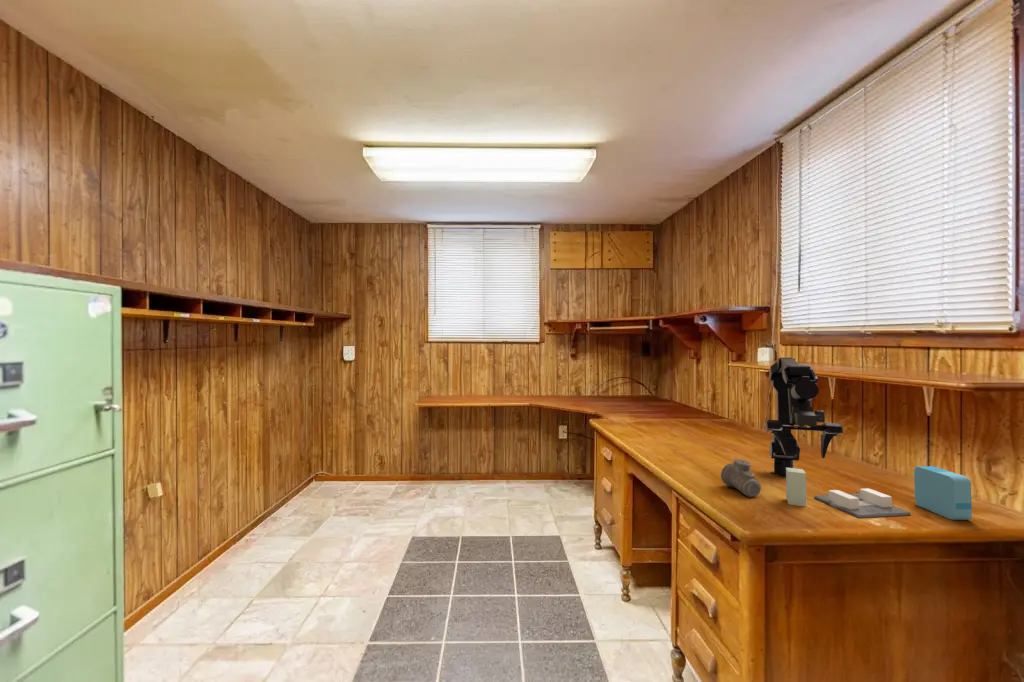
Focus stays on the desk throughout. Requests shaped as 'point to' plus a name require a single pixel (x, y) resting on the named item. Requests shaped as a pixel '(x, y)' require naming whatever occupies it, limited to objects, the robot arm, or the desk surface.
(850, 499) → the mounted modules
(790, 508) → the desk surface
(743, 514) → the desk surface
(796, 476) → the block
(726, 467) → the pipe fitting
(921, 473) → the data package
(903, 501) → the desk surface
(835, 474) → the desk surface
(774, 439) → the robot arm
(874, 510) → the mounting plate
